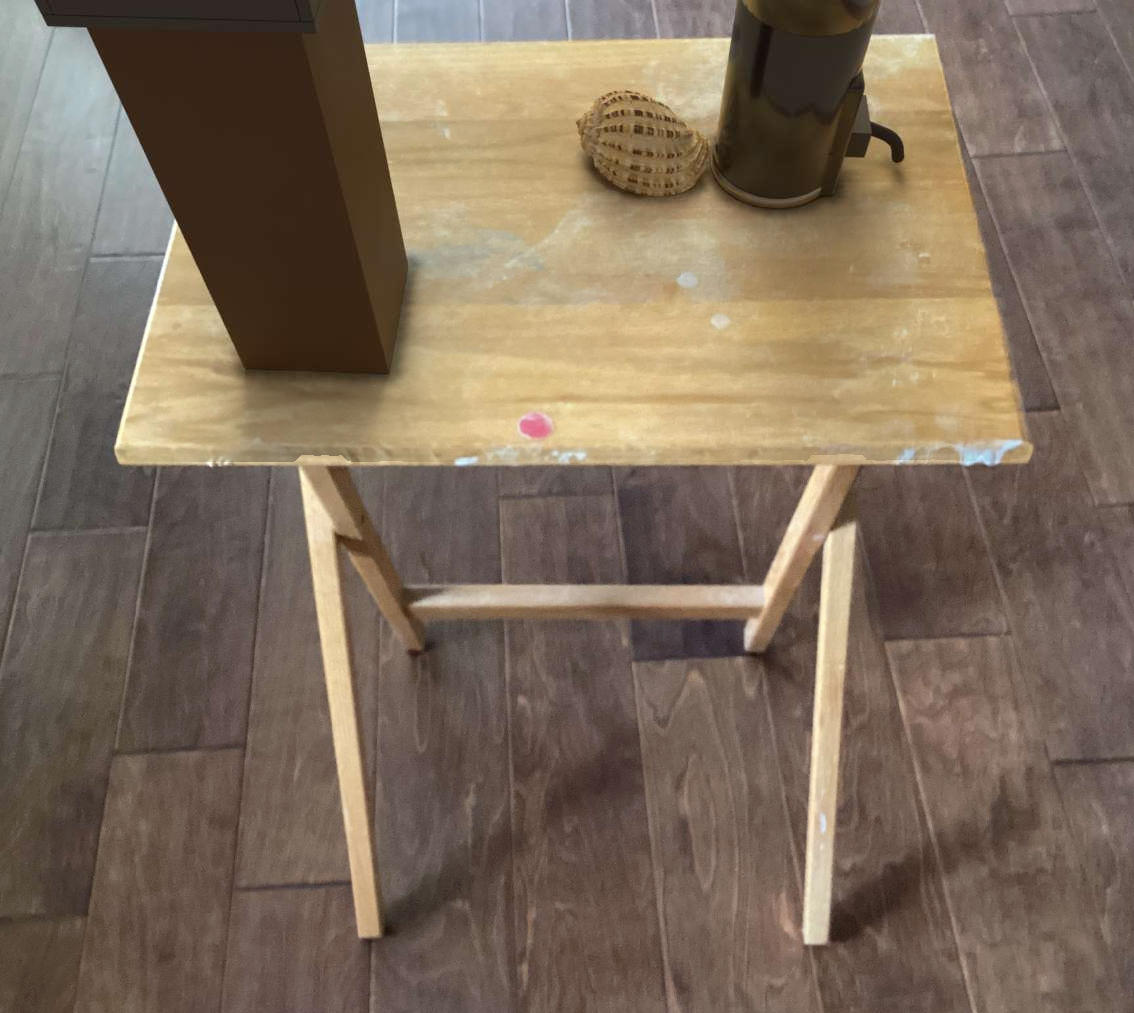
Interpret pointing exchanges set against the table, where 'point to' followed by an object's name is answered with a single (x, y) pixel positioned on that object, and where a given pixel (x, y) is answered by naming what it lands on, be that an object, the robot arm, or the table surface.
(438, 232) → the table surface
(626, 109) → the seashell
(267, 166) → the bin
